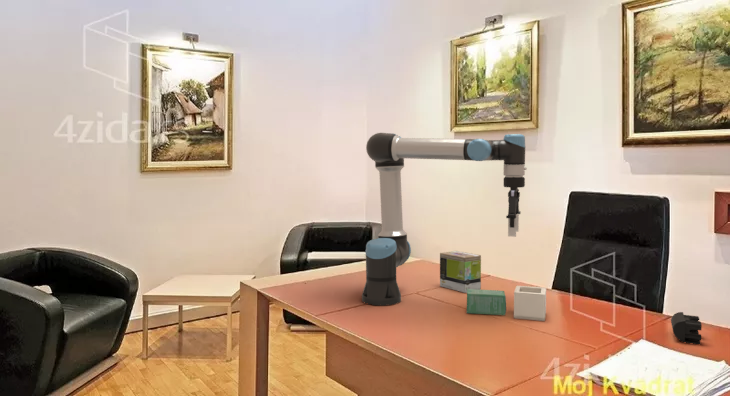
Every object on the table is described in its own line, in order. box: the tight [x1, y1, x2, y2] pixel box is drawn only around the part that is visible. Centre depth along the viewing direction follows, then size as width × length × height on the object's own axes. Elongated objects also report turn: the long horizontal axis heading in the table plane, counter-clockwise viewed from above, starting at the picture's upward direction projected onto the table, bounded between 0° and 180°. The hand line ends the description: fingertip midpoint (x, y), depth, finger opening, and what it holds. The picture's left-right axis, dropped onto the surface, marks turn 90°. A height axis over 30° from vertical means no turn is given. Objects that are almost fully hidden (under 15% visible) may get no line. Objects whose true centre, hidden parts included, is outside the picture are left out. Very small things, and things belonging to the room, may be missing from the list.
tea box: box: [439, 250, 482, 294], centre depth 221 cm, size 15×10×15 cm
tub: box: [513, 285, 547, 322], centre depth 182 cm, size 10×10×9 cm
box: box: [465, 289, 507, 316], centre depth 187 cm, size 7×14×8 cm, turn 79°
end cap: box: [670, 311, 702, 345], centre depth 158 cm, size 10×7×7 cm
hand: (513, 233), depth 195 cm, fingers open, 13 cm apart
